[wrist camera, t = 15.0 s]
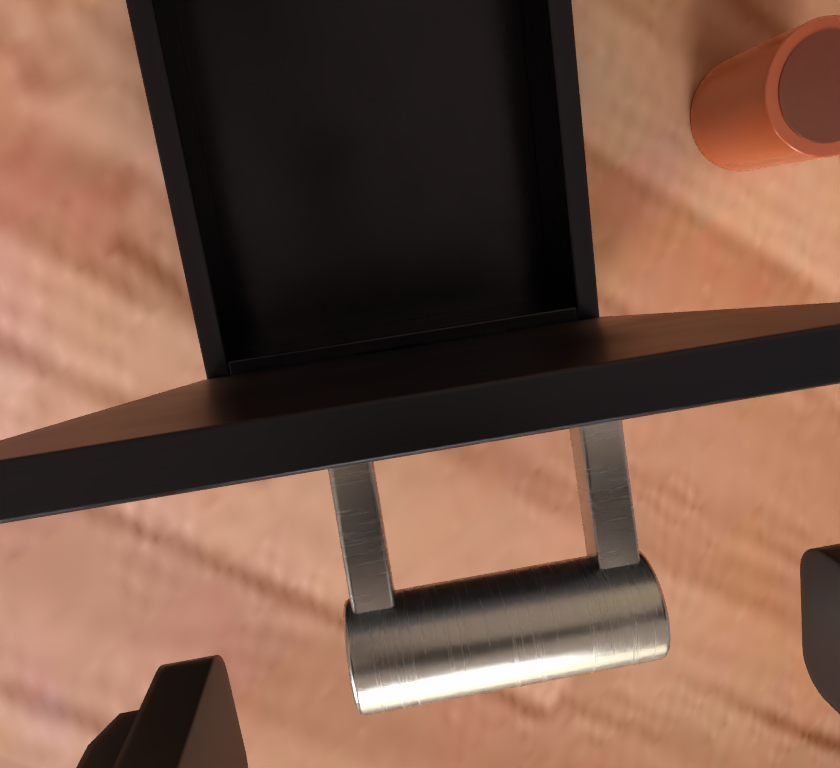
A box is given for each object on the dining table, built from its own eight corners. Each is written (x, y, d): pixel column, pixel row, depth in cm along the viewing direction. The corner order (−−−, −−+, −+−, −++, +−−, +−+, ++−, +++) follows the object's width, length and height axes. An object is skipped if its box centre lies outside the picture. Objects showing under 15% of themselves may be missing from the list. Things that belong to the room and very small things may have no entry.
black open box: (141, -64, 28) (98, -124, 24) (523, -109, 29) (556, -176, 25) (229, 365, 32) (208, 387, 28) (565, 312, 33) (600, 325, 29)
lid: (-150, 484, 9) (-60, 879, 9) (1058, 288, 10) (1086, 654, 10) (204, 379, 27) (228, 510, 28) (603, 316, 28) (619, 444, 28)
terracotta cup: (686, 63, 31) (763, 23, 26) (793, 48, 32) (893, 6, 26) (693, 178, 33) (768, 165, 27) (796, 163, 33) (893, 147, 27)
